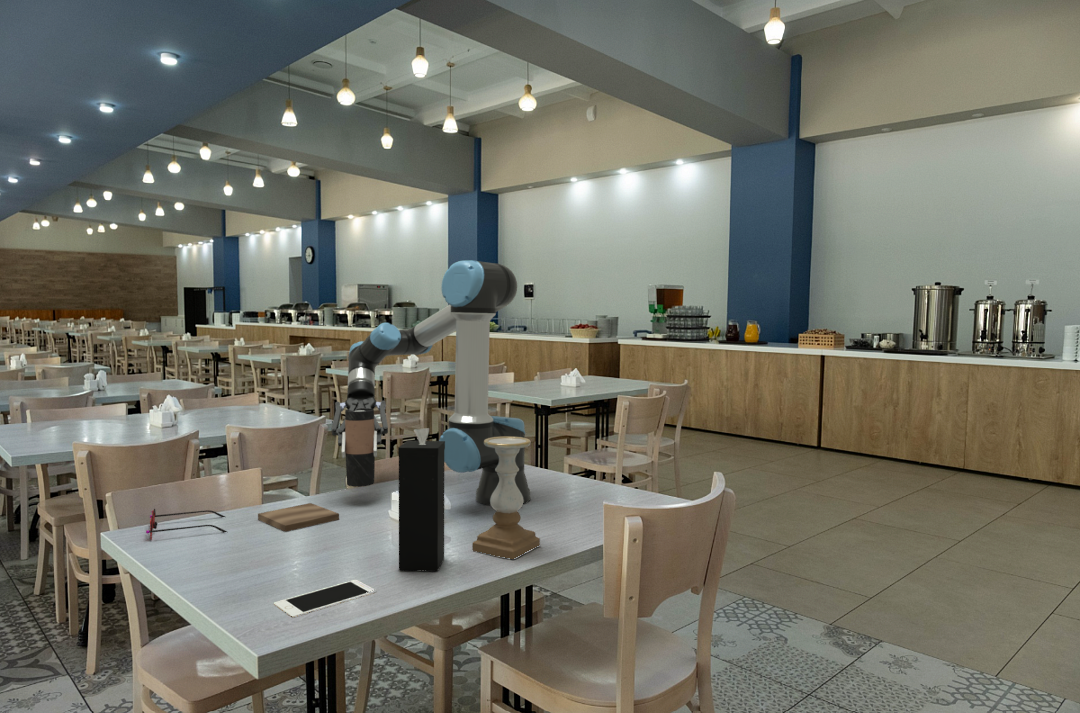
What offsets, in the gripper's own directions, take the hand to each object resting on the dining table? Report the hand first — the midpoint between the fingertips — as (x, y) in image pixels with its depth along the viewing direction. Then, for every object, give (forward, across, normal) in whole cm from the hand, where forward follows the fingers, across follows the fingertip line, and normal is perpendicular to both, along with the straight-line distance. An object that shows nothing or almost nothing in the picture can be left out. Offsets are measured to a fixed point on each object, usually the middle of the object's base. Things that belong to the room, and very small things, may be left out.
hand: (359, 454), depth 181 cm
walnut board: (+16, +14, -3) cm, 22 cm away
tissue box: (+43, -14, +22) cm, 51 cm away
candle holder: (+39, -33, +18) cm, 54 cm away
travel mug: (+4, 0, -9) cm, 10 cm away
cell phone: (+53, +3, +32) cm, 62 cm away
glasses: (+19, +39, -2) cm, 43 cm away
